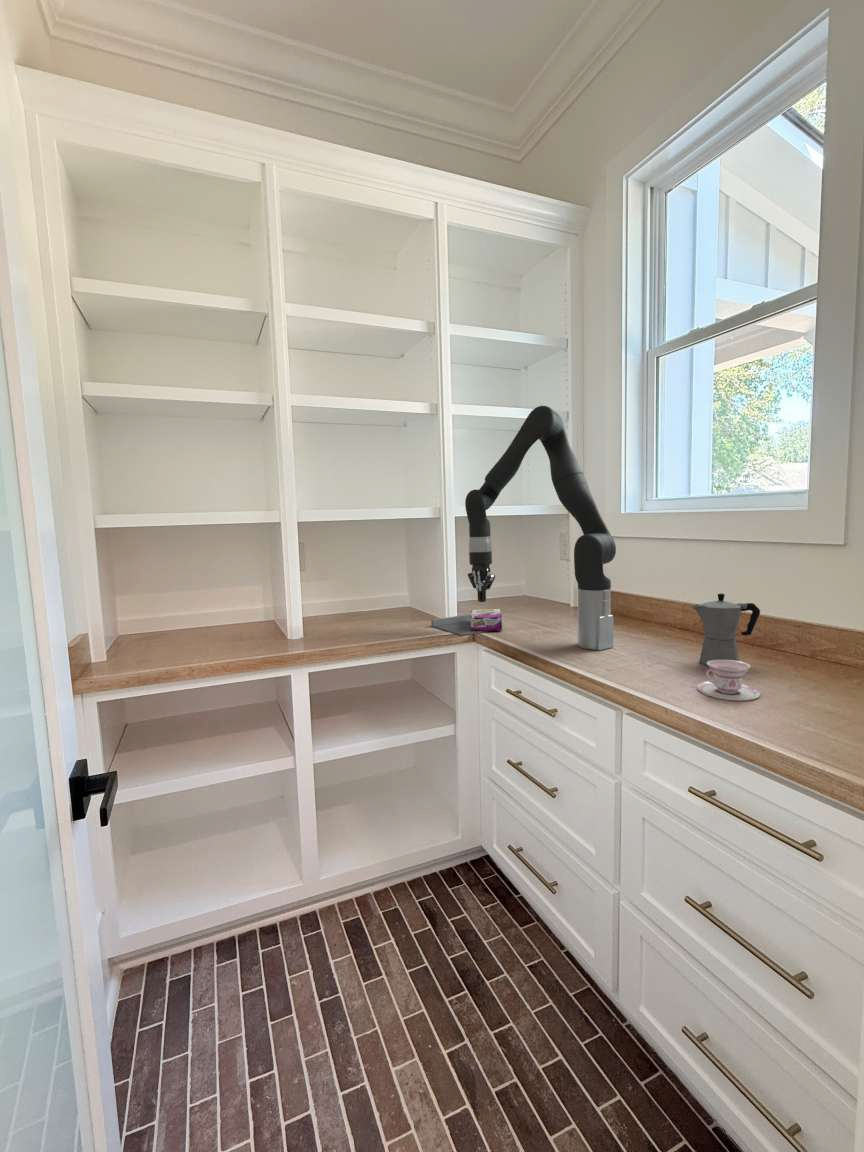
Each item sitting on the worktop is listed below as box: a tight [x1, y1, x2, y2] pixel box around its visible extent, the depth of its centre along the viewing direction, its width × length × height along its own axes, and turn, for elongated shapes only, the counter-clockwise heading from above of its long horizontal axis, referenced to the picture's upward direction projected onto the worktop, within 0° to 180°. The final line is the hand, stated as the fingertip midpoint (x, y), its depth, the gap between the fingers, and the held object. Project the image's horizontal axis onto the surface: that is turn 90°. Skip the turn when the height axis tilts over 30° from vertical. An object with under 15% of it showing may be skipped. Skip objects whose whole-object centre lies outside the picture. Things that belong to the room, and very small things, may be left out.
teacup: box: [696, 660, 761, 702], centre depth 114 cm, size 12×12×6 cm
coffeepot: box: [691, 593, 761, 666], centre depth 134 cm, size 15×9×18 cm, turn 74°
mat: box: [430, 614, 487, 637], centre depth 188 cm, size 20×16×2 cm
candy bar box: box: [469, 608, 503, 632], centre depth 188 cm, size 11×5×16 cm
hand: (481, 601), depth 178 cm, fingers closed
